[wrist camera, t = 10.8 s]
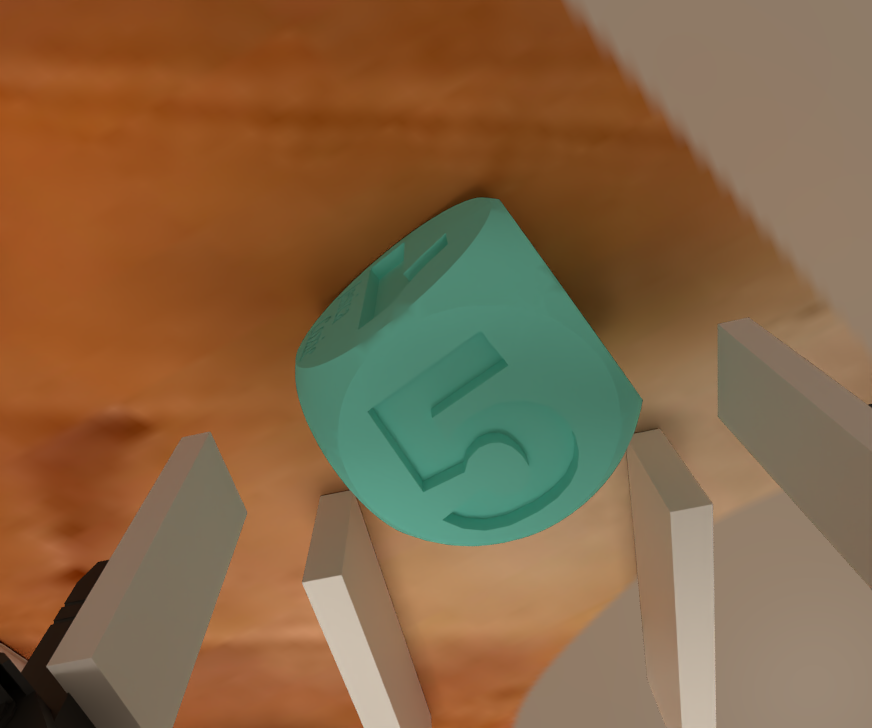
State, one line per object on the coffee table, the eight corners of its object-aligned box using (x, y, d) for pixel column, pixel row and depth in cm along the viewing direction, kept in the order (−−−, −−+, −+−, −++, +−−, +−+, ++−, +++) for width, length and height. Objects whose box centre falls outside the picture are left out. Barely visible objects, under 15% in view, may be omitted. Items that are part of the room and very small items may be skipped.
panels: (674, 673, 33) (716, 769, 28) (404, 720, 34) (403, 821, 29) (660, 428, 26) (712, 504, 21) (320, 495, 27) (302, 582, 22)
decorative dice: (481, 174, 21) (518, 228, 14) (599, 339, 24) (681, 455, 17) (311, 309, 23) (265, 419, 16) (439, 446, 26) (451, 591, 19)
